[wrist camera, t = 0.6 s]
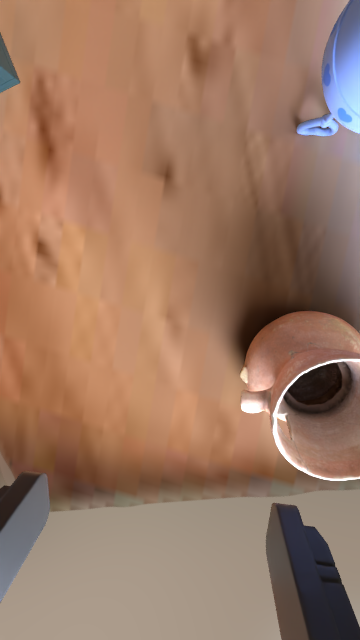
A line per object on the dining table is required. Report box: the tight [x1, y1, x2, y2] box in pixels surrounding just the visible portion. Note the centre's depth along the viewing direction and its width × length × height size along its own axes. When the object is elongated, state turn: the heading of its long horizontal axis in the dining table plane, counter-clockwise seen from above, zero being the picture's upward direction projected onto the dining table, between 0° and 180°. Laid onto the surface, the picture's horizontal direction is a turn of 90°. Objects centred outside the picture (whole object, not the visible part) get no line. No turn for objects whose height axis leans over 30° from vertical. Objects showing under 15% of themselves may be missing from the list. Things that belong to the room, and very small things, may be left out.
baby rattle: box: [297, 0, 360, 136], centre depth 23 cm, size 9×9×18 cm
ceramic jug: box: [240, 311, 360, 481], centre depth 31 cm, size 18×14×14 cm
